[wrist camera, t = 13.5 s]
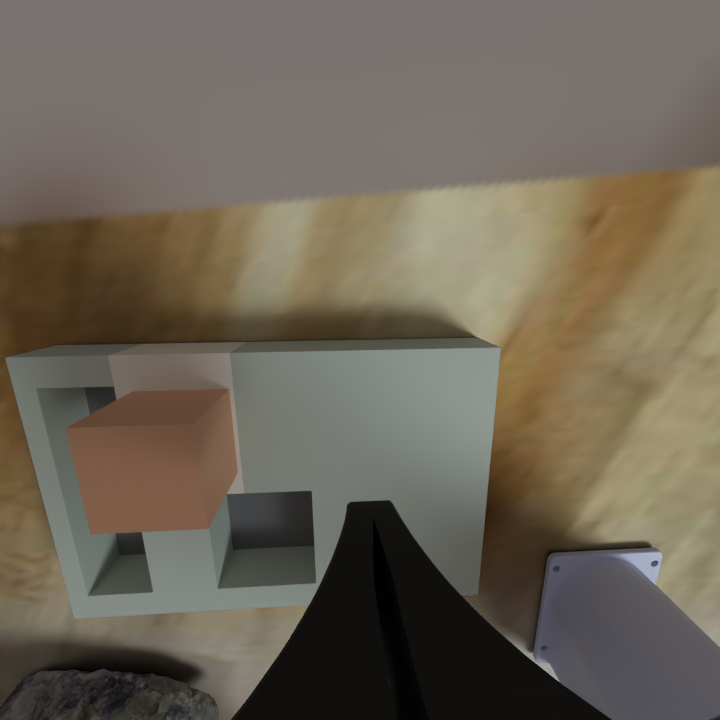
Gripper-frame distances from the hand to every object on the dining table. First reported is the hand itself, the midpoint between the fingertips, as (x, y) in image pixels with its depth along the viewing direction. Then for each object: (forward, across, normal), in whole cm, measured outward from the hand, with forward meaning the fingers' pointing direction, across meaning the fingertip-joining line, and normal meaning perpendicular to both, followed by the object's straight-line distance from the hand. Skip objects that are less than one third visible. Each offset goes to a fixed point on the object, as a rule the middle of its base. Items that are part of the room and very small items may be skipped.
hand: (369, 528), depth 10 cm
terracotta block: (+7, +8, 0) cm, 11 cm away
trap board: (+10, +4, +3) cm, 11 cm away
